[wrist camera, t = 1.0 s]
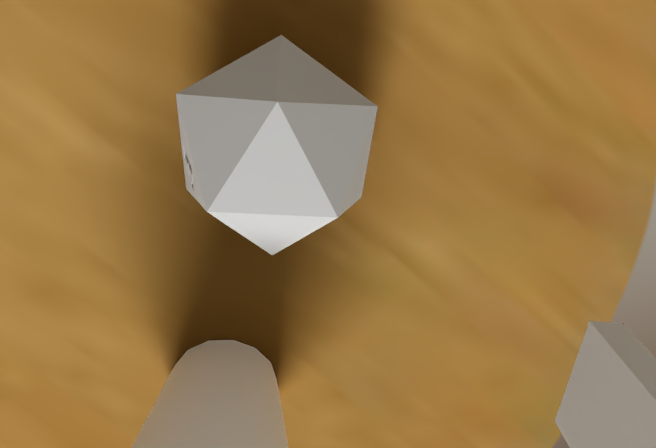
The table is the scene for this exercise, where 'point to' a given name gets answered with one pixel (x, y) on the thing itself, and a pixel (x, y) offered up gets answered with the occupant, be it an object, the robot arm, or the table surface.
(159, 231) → the table surface
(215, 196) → the die
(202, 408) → the foam cup
